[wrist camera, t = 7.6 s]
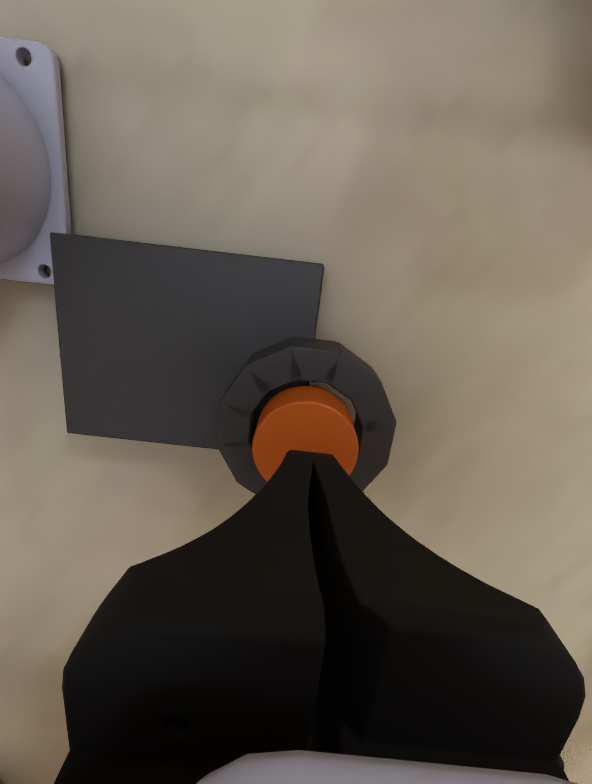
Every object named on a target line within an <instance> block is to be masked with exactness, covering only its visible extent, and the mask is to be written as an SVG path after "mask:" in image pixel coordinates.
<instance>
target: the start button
mask: <svg viewBox="0 0 592 784" xmlns="http://www.w3.org/2000/svg"><path fill="white" fill-rule="evenodd" d="M289 450H299V451H308V452H317V453H326V454H333V456H334V457H335V458H336V459H337V461H338V462H339V463H340V465H341V466H342V467H343V469H344V470H345V471H346V473H347V474H348V475H350V474H351V472H352V470H353V469H354V467H355V464H356V462H357V458H358V451H359V448H358V439H357V435H356V432H355V428H354V425H353V422H352V419H351V416H350V413H349V411H348V409H347V407H346V406H345V405H344V403H343V402H342V401H341V400H340V399H339V398H338V397H337V396H335V395H334V394H332V393H331V392H329V391H327V390H325V389H322V388H319V387H314V386H296V387H291V388H288V389H285V390H283V391H281V392H279V393H278V394H276V395H275V396H274V397H273V398H271V399H270V400H269V401H268V403H267V404H266V405H265V407H264V408H263V410H262V412H261V414H260V417H259V420H258V424H257V427H256V431H255V434H254V437H253V443H252V453H253V459H254V462H255V465H256V467H257V469H258V471H259V472H260V474H261V475H262V476H263V478H264V479H265V480H266V481H267V482H268V481H269V479H270V478H271V477H272V475H273V474H274V473H275V471H276V470H277V469H278V467H279V466H280V464H281V463H282V461H283V459H284V457H285V455H286V452H288V451H289Z"/></svg>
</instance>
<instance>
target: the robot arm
mask: <svg viewBox="0 0 592 784" xmlns="http://www.w3.org/2000/svg"><path fill="white" fill-rule="evenodd" d="M27 54H31V57H32V59H31V63H30V64H29V66H25V64H24V57H25V56H26V55H27ZM51 232H55V233H63V234H72V233H71V219H70V205H69V192H68V178H67V164H66V150H65V136H64V122H63V108H62V94H61V81H60V67H59V62H58V58H57V56H56V55H55V53H54V52H53V51H52V50H51V49H50V48H48V47H47V46H46V45H45V44H44V43H41V42H38V41H31V40H23V39H15V38H7V37H0V279H6V280H15V281H23V282H32V283H41V284H49V285H54V278H53V266H52V255H51V244H50V233H51ZM46 265H47V266H48V267H49V268H50V270H51V276H50V277H48V276H47V275H46V274H45V272H44V267H45V266H46ZM62 690H63V698H64V706H65V714H66V723H67V731H68V739H69V747H70V751H69V753H68V755H67V757H66V759H65V762H64V764H63V766H62V768H61V770H60V772H59V774H58V776H57V778H56V780H55V782H54V784H577V783H574V782H570V781H569V780H568V778H567V776H566V774H565V772H564V770H563V768H562V766H561V764H560V762H559V760H558V757H559V755H560V753H561V751H562V749H563V747H564V745H565V743H566V741H567V739H568V737H569V735H570V734H571V732H572V730H573V728H574V726H575V724H576V722H577V720H578V718H579V715H580V712H581V709H582V705H583V702H584V699H585V685H584V678H583V676H582V674H581V672H580V670H579V668H578V666H577V664H576V662H575V661H574V659H573V658H572V657H571V655H570V654H569V652H568V651H567V649H566V648H565V646H564V645H563V643H562V642H561V640H560V639H559V637H558V636H557V634H556V633H555V631H554V630H553V628H552V627H551V626H550V624H549V623H548V621H547V620H546V618H545V617H544V616H543V614H542V613H541V612H540V610H539V609H538V608H536V607H533V606H531V605H529V604H527V603H525V602H523V601H521V600H519V599H517V598H515V597H513V596H511V595H509V594H506V593H504V592H502V591H500V590H498V589H496V588H494V587H492V586H490V585H488V584H486V583H484V582H482V581H480V580H478V579H477V578H475V577H473V576H471V575H470V574H468V573H466V572H464V571H463V570H461V569H459V568H457V567H456V566H454V565H452V564H451V563H449V562H448V561H446V560H444V559H443V558H441V557H440V556H438V555H437V554H435V553H434V552H432V551H431V550H429V549H428V548H426V547H425V546H424V545H422V544H421V543H419V542H418V541H416V540H415V539H414V538H412V537H411V536H410V535H408V534H407V533H406V532H405V531H403V530H402V529H401V528H400V527H399V526H397V525H396V524H395V523H394V522H393V521H391V520H390V519H389V518H388V517H387V516H386V515H385V514H384V513H383V512H381V511H380V510H379V509H378V508H377V507H376V506H375V505H374V504H373V503H372V502H371V501H370V499H369V498H368V497H367V496H366V495H365V494H364V493H363V492H362V491H361V490H360V489H359V487H358V486H357V485H356V484H355V483H354V482H353V480H352V479H351V478H350V477H349V475H348V474H347V473H346V471H345V470H344V469H343V467H342V466H341V465H340V463H339V462H338V461H337V459H336V458H335V457H334V456H333V454H326V453H317V452H308V451H299V450H289V451H288V452H286V455H285V457H284V459H283V461H282V463H281V464H280V466H279V467H278V469H277V470H276V471H275V473H274V474H273V475H272V477H271V478H270V479H269V481H268V482H267V483H266V484H265V485H264V486H263V487H262V488H261V490H260V491H259V492H258V493H257V494H256V495H255V496H254V497H253V498H252V499H251V500H250V501H249V502H248V503H247V504H246V505H244V506H243V507H242V508H241V509H240V510H239V511H237V512H236V513H235V514H234V515H232V516H231V517H230V518H228V519H227V520H226V521H224V522H223V523H221V524H220V525H219V526H217V527H216V528H214V529H213V530H211V531H209V532H208V533H206V534H204V535H202V536H200V537H199V538H197V539H195V540H193V541H191V542H189V543H187V544H185V545H183V546H181V547H179V548H177V549H174V550H172V551H170V552H167V553H165V554H162V555H160V556H157V557H155V558H152V559H150V560H147V561H145V562H142V563H140V564H137V565H134V566H131V567H130V568H128V570H127V571H126V572H125V574H124V575H123V576H122V577H121V579H120V580H119V581H118V583H117V584H116V585H115V586H114V588H113V589H112V590H111V592H110V593H109V594H108V595H107V597H106V598H105V599H104V601H103V602H102V603H101V605H100V606H99V608H98V609H97V611H96V613H95V614H94V616H93V617H92V619H91V621H90V622H89V624H88V626H87V627H86V629H85V631H84V632H83V634H82V636H81V638H80V639H79V641H78V643H77V644H76V646H75V648H74V649H73V651H72V653H71V655H70V657H69V659H68V661H67V663H66V665H65V667H64V669H63V683H62Z"/></svg>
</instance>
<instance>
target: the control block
mask: <svg viewBox="0 0 592 784" xmlns="http://www.w3.org/2000/svg"><path fill="white" fill-rule="evenodd" d="M50 244H51V255H52V266H53V278H54V289H55V300H56V311H57V322H58V334H59V345H60V356H61V367H62V379H63V390H64V401H65V412H66V423H67V432H68V433H74V434H83V435H92V436H101V437H110V438H119V439H129V440H138V441H147V442H156V443H165V444H174V445H183V446H192V447H202V448H211V449H219V450H220V452H221V454H222V456H223V458H224V459H225V461H226V463H227V465H228V467H229V468H230V470H231V472H232V474H233V476H234V477H235V479H236V481H237V482H239V484H241V485H242V486H244V487H245V488H247V489H248V490H250V491H252V492H253V493H255V494H257V493H258V492H259V491H260V490H261V488H262V487H263V486H264V485H265V484H266V483H267V481H266V480H265V479H264V478H263V476H262V475H261V474H260V472H259V471H258V469H257V467H256V465H255V462H254V459H253V453H252V443H253V437H254V434H255V431H256V427H257V424H258V420H259V417H260V414H261V412H262V410H263V408H264V407H265V405H266V404H267V403H268V401H269V400H270V399H271V398H273V397H274V396H275V395H276V394H278V393H279V392H281V391H283V390H285V389H288V388H291V387H296V386H309V381H314V382H322V383H328V384H329V385H331V386H332V387H333V388H335V389H336V390H338V391H339V392H340V393H342V394H343V395H345V396H346V397H347V398H349V399H350V400H351V401H352V403H353V405H354V408H355V410H356V416H355V422H354V428H355V432H356V435H357V439H358V448H359V451H358V458H357V462H356V464H355V467H354V469H353V470H352V472H351V474H350V475H349V477H350V478H351V479H352V480H353V482H354V483H355V484H356V485H357V486H358V487H359V489H360V490H361V491H363V490H364V489H365V488H366V487H367V486H368V485H369V484H370V483H371V482H372V480H373V479H374V478H375V477H376V476H377V475H378V474H379V473H380V472H381V471H382V470H383V469H384V468H385V466H386V465H387V463H388V459H389V454H390V450H391V445H392V440H393V436H394V431H395V426H396V420H395V417H394V414H393V412H392V409H391V407H390V404H389V401H388V399H387V396H386V394H385V391H384V388H383V386H382V383H381V381H380V380H379V378H378V376H377V375H376V373H375V372H374V370H373V369H372V368H371V366H369V365H368V364H367V363H365V362H364V361H363V360H361V359H360V358H359V357H357V356H356V355H355V354H353V353H352V352H351V351H349V350H348V349H347V348H345V347H344V346H343V345H341V344H340V343H337V342H335V341H326V340H318V339H315V334H316V327H317V319H318V311H319V303H320V295H321V288H322V280H323V272H324V265H323V264H319V263H310V262H302V261H293V260H285V259H276V258H267V257H259V256H250V255H242V254H233V253H225V252H216V251H208V250H199V249H191V248H182V247H174V246H165V245H157V244H148V243H140V242H131V241H123V240H114V239H106V238H97V237H89V236H80V235H72V234H63V233H55V232H51V233H50Z"/></svg>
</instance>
